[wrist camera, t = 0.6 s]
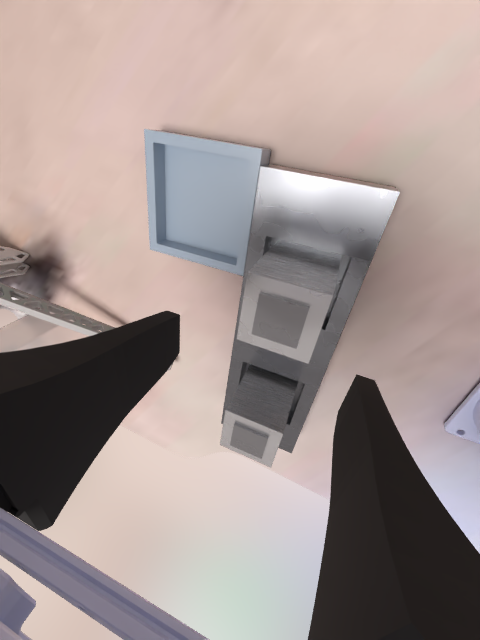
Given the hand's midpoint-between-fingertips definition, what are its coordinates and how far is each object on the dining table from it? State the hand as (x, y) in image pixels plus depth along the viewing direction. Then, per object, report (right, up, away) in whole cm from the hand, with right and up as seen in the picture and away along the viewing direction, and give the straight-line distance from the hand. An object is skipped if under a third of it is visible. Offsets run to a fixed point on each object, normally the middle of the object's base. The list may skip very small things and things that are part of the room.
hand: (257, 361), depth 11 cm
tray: (-3, +10, +8) cm, 13 cm away
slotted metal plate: (+3, +1, +11) cm, 11 cm away
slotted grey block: (+2, -4, +13) cm, 14 cm away
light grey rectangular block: (+3, +5, +7) cm, 9 cm away
